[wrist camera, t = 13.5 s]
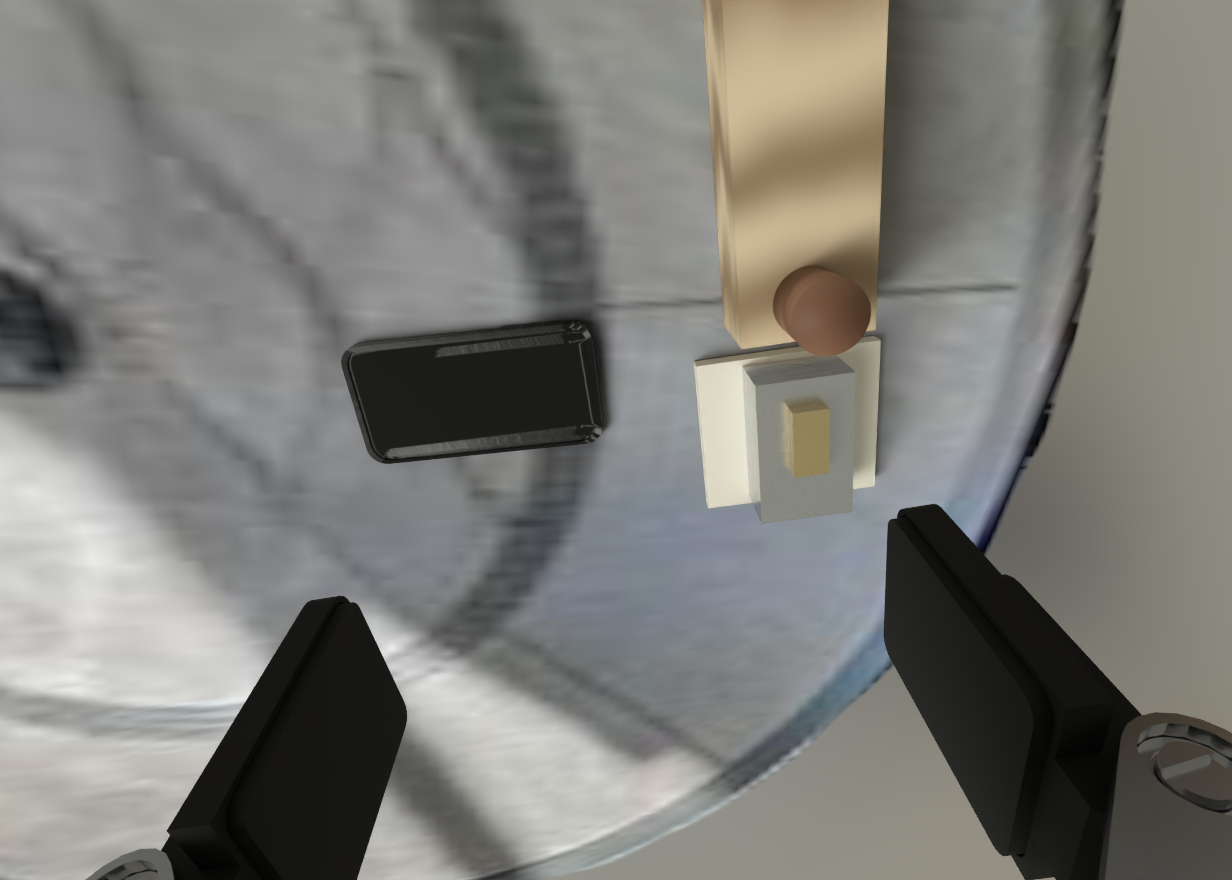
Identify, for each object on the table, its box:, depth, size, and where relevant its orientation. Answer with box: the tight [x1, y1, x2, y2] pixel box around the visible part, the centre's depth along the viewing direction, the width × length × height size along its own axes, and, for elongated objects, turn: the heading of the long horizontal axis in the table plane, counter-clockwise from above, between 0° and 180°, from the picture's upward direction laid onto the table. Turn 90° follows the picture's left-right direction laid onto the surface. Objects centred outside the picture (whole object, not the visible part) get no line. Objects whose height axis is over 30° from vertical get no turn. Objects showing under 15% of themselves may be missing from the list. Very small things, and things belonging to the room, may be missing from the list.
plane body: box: [702, 0, 889, 357], centre depth 28 cm, size 18×7×10 cm, turn 8°
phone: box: [341, 321, 603, 464], centre depth 38 cm, size 8×1×15 cm
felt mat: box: [694, 336, 881, 508], centre depth 39 cm, size 10×11×1 cm
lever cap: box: [742, 355, 856, 524], centre depth 37 cm, size 9×6×4 cm, turn 8°
